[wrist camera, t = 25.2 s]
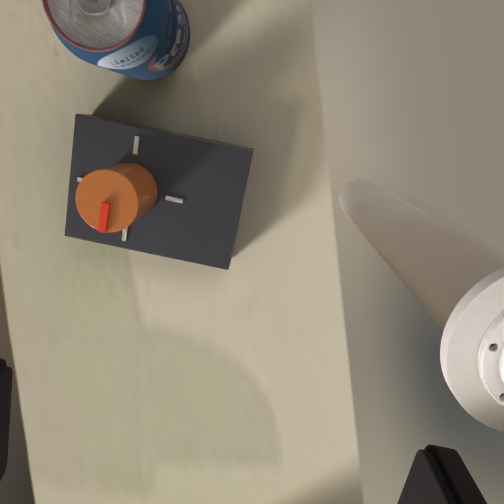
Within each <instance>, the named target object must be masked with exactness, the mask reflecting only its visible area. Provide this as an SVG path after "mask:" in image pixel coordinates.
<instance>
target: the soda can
mask: <svg viewBox="0 0 504 504" xmlns="http://www.w3.org/2000/svg"><path fill="white" fill-rule="evenodd" d="M42 3H43V7H44V10H45V12H46V15H47V17H48V19H49V21H50V23H51V25H52V28H53V30H54V31H55V33H56V35H57V37H58V38H59V39H60V41H61V42H62V43H63V44H64V46H65V47H66V48H67V49H68V50H69V51H71V52H72V53H73V54H74V55H76V56H77V57H79V58H80V59H82V60H84V61H86V62H88V63H91V64H94V65H97V66H99V67H102V68H105V69H108V70H111V71H114V72H117V73H120V74H123V75H126V76H129V77H132V78H135V79H139V80H147V81H149V80H157V79H160V78H163V77H165V76H167V75H169V74H170V73H172V72H173V71H174V70H175V69H176V68H177V67H178V66H179V65H180V64H181V62H182V61H183V59H184V57H185V55H186V53H187V50H188V47H189V41H190V27H189V21H188V18H187V15H186V12H185V10H184V8H183V6H182V4H181V3H180V1H179V0H42Z"/></svg>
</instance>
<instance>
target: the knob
mask: <svg viewBox="0 0 504 504" xmlns="http://www.w3.org/2000/svg"><path fill="white" fill-rule="evenodd" d="M156 199H157V185H156V182H155V180H154V178H153V176H152V175H151V173H150V172H149V171H148V170H147V169H145V168H144V167H142V166H141V165H138V164H135V163H121V164H118V165H114V166H110V167H107V168H103V169H99V170H96V171H93V172H91V173H89V174H87V175H86V176H85V177H84V178H83V179H82V180H81V181H80V183H79V185H78V187H77V190H76V205H77V209H78V211H79V213H80V215H81V217H82V218H83V219H84V221H85V222H86V223H87V224H89V225H90V226H91V227H93V228H95V229H97V230H98V232H103V233H106V232H118V231H121V230H123V229H125V228H127V227H128V226H129V225H131V224H132V223H134V222H135V221H136V220H138V219H139V218H140V217H142V216H143V215H144V214H146V213H147V212H148V211H150V210H151V209H152V207H153V206H154V204H155V202H156Z"/></svg>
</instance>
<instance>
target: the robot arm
mask: <svg viewBox="0 0 504 504" xmlns="http://www.w3.org/2000/svg"><path fill="white" fill-rule="evenodd" d="M478 371H479V375H480V378H481V380H482V382H483V385H484V387H485V388H486V389H487V390H488V392H489V393H490V394H491V396H492V397H493V398H494V399H495V400H496V401H497V402H498V403H499V404H501V405H502V406H504V312H503V313H501V314H500V315H499V316H498V317H497V318H496V319H495V320H494V321H493V322H492V324H491V325H490V327H489V328H488V330H487V331H486V332H485V334H484V337H483V339H482V341H481V343H480V347H479V352H478ZM11 390H12V368H10V367H7V366H6V361H5V360H4V359H1V358H0V481H1V479H2V477H3V475H4V473H5V470H6V467H7V455H8V440H9V423H10V407H11ZM398 504H487V503H486V501H485V499H484V498H483V496H482V494H481V492H480V490H479V489H478V487H477V485H476V483H475V482H474V480H473V478H472V477H471V475H470V473H469V471H468V470H467V468H466V466H465V464H464V463H463V461H462V459H461V457H460V456H459V454H458V453H457V451H456V450H454V449H450V448H445V447H440V446H435V445H427V446H426V447H425V449H424V450H419V451H418V452H417V454H416V456H415V459H414V461H413V464H412V466H411V469H410V472H409V475H408V477H407V480H406V483H405V485H404V488H403V491H402V493H401V496H400V499H399V501H398Z"/></svg>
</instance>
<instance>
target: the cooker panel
mask: <svg viewBox="0 0 504 504" xmlns="http://www.w3.org/2000/svg"><path fill="white" fill-rule="evenodd" d="M252 154H253V149H250V148H245V147H241V146H236V145H231V144H227V143H222V142H217V141H212V140H208V139H203V138H198V137H194V136H189V135H184V134H180V133H175V132H170V131H166V130H161V129H156V128H152V127H147V126H142V125H138V124H133V123H128V122H123V121H119V120H114V119H109V118H105V117H100V116H95V115H90V114H76V116H75V127H74V139H73V150H72V161H71V172H70V183H69V194H68V206H67V217H66V228H65V236H68V237H72V238H77V239H82V240H87V241H92V242H97V243H101V244H106V245H111V246H116V247H121V248H125V249H130V250H135V251H140V252H145V253H150V254H154V255H159V256H164V257H169V258H174V259H179V260H183V261H188V262H193V263H198V264H203V265H208V266H212V267H217V268H222V269H227V270H228V269H229V266H230V262H231V258H232V253H233V248H234V243H235V238H236V233H237V229H238V224H239V219H240V214H241V209H242V204H243V199H244V194H245V189H246V184H247V179H248V174H249V169H250V164H251V159H252ZM121 163H135V164H138V165H141V166H142V167H144V168H145V169H147V170H148V171H149V172H150V173H151V175H152V176H153V178H154V180H155V182H156V185H157V199H156V202H155V204H154V206H153V207H152V209H151V210H150V211H148V212H147V213H146V214H144V215H143V216H142V217H140V218H139V219H138V220H136V221H135V222H134V223H132V224H131V225H129V226H128V227H127V228H125V229H123V230H121V231H118V232H106V233H103V232H98V230H97V229H95V228H93V227H91V226H90V225H89V224H87V223H86V222H85V221H84V219H83V218H82V217H81V215H80V213H79V211H78V209H77V205H76V190H77V187H78V185H79V183H80V181H81V180H82V179H83V178H84V177H85V176H86V175H87V174H89V173H91V172H93V171H96V170H99V169H103V168H107V167H110V166H114V165H118V164H121Z"/></svg>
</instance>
